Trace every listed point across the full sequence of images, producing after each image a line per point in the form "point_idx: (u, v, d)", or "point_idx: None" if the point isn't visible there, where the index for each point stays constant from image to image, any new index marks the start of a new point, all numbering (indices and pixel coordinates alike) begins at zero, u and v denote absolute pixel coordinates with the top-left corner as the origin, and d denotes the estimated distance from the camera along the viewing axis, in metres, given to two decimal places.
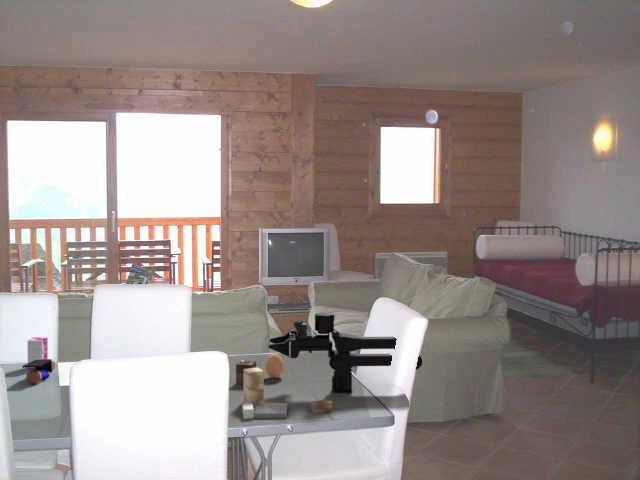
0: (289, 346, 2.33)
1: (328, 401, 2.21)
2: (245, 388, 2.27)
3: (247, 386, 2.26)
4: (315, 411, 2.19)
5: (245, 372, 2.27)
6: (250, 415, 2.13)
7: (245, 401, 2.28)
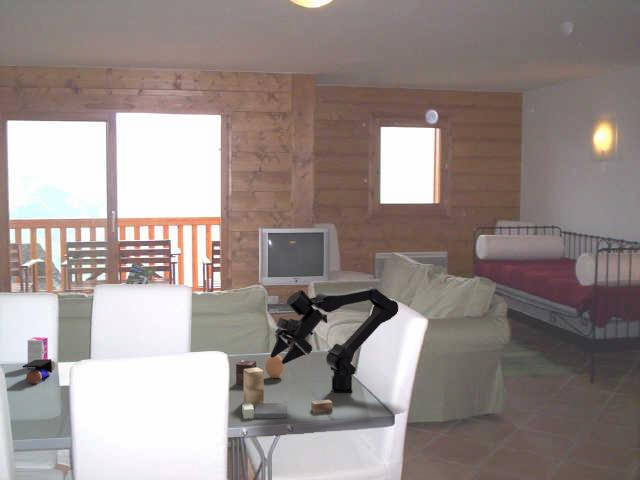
0: (299, 347, 2.25)
1: (328, 401, 2.21)
2: (245, 388, 2.27)
3: (247, 386, 2.26)
4: (315, 411, 2.19)
5: (245, 372, 2.27)
6: (250, 415, 2.13)
7: (245, 401, 2.28)
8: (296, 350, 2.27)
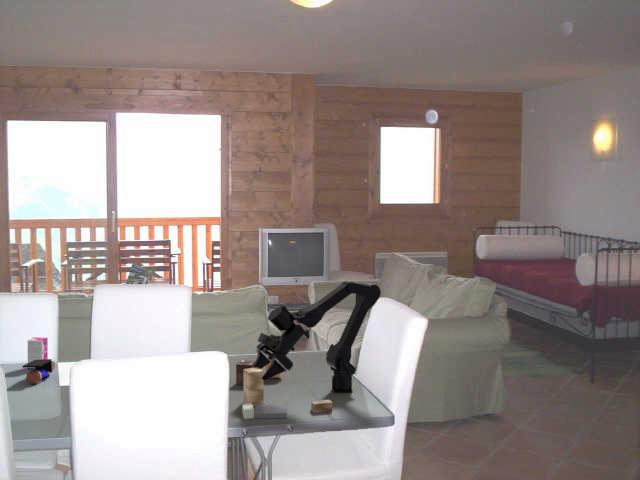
0: (279, 363, 2.23)
1: (328, 401, 2.21)
2: (245, 388, 2.27)
3: (247, 386, 2.26)
4: (315, 411, 2.19)
5: (245, 372, 2.27)
6: (250, 415, 2.13)
7: (245, 401, 2.28)
8: (277, 366, 2.25)
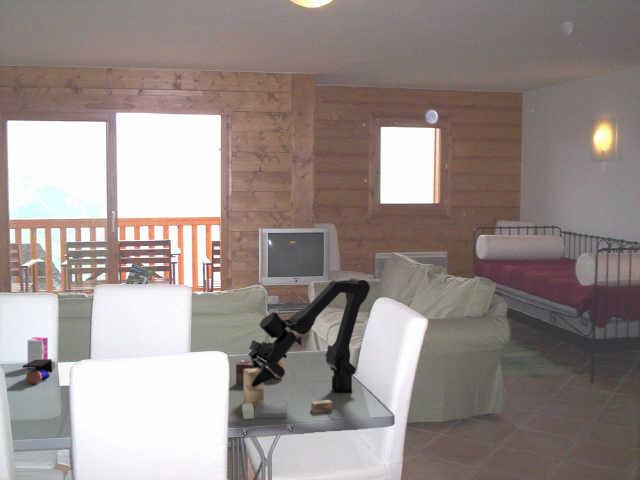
0: (269, 370, 2.23)
1: (328, 401, 2.21)
2: (245, 388, 2.27)
3: (247, 386, 2.26)
4: (315, 411, 2.19)
5: (245, 372, 2.27)
6: (250, 415, 2.13)
7: (245, 401, 2.28)
8: (266, 372, 2.25)
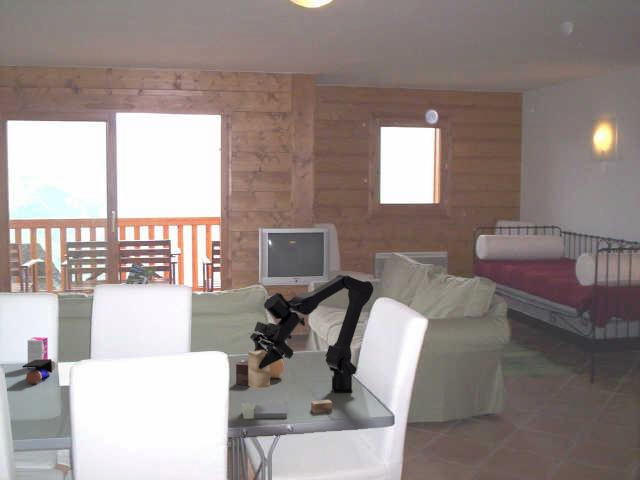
0: (277, 351, 2.19)
1: (328, 401, 2.21)
2: (251, 371, 2.22)
3: (253, 369, 2.21)
4: (315, 411, 2.19)
5: (251, 354, 2.22)
6: (250, 415, 2.13)
7: (251, 384, 2.23)
8: (273, 354, 2.21)
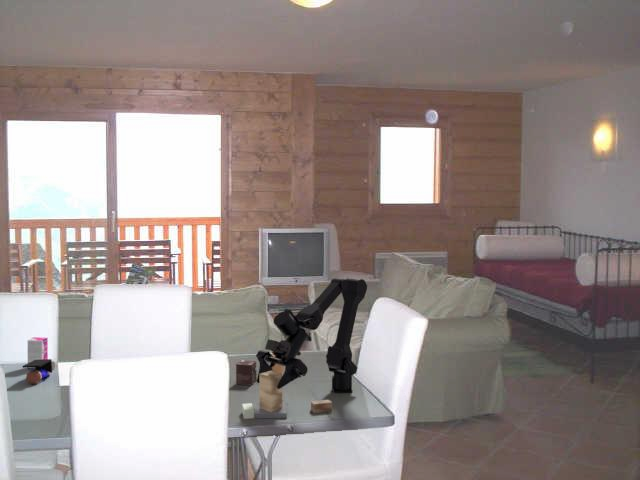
0: (295, 369, 2.14)
1: (328, 401, 2.21)
2: (263, 393, 2.17)
3: (267, 391, 2.15)
4: (315, 411, 2.19)
5: (263, 376, 2.16)
6: (250, 415, 2.13)
7: (263, 407, 2.17)
8: (291, 373, 2.16)
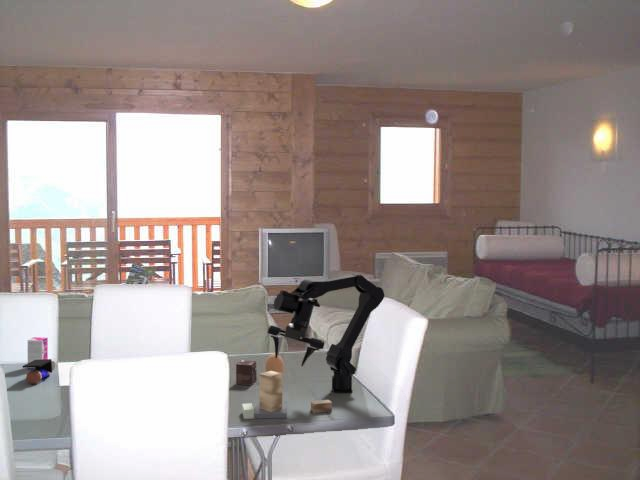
0: (316, 348, 2.30)
1: (327, 401, 2.21)
2: (263, 393, 2.17)
3: (267, 391, 2.15)
4: (314, 411, 2.19)
5: (263, 376, 2.16)
6: (250, 415, 2.13)
7: (263, 407, 2.17)
8: None
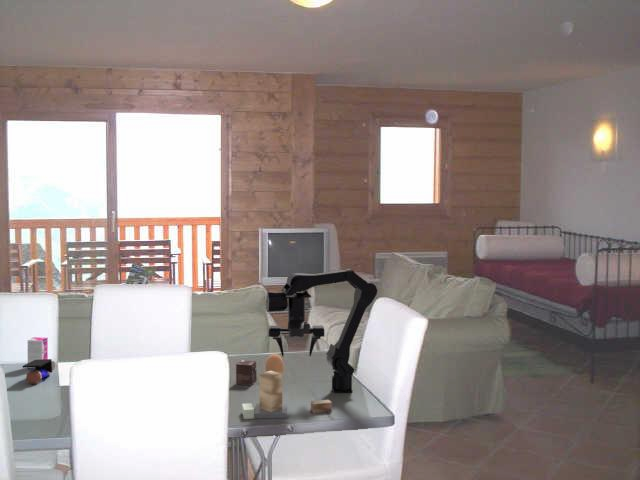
0: None
1: (327, 401, 2.21)
2: (263, 393, 2.17)
3: (267, 391, 2.15)
4: (314, 411, 2.19)
5: (263, 376, 2.16)
6: (250, 415, 2.13)
7: (263, 407, 2.17)
8: None
